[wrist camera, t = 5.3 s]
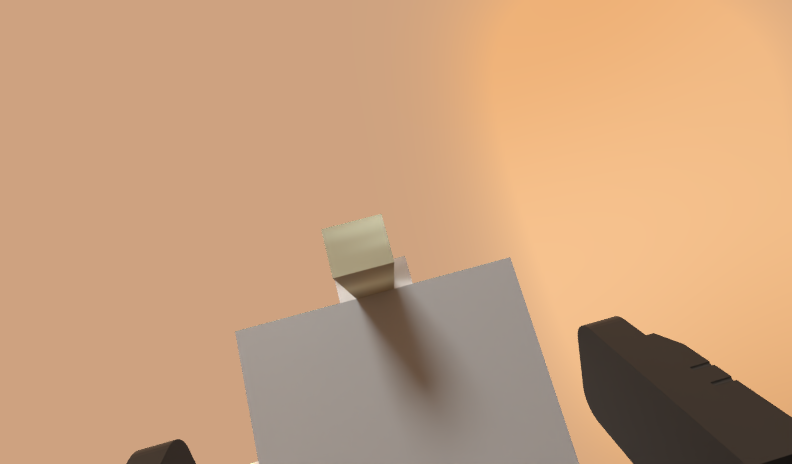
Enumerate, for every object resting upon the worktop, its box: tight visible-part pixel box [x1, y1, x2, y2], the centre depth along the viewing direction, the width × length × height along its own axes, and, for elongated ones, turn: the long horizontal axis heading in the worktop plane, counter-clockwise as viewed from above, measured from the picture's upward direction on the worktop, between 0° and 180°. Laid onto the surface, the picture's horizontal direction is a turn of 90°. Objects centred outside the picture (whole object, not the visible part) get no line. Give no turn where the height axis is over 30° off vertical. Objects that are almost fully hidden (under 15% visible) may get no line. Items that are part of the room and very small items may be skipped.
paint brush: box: [322, 214, 412, 303], centre depth 25 cm, size 21×5×2 cm, turn 1°
